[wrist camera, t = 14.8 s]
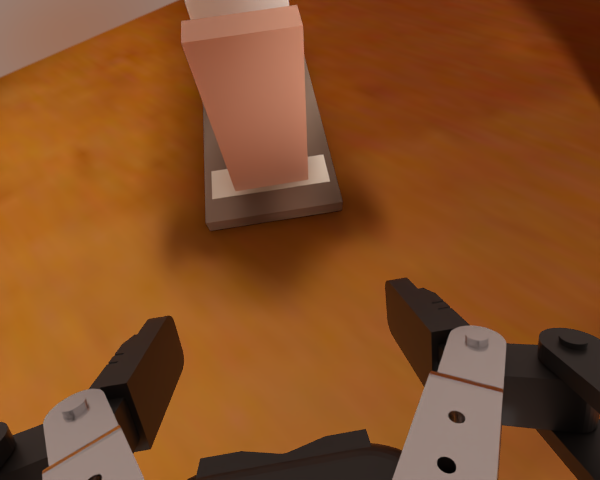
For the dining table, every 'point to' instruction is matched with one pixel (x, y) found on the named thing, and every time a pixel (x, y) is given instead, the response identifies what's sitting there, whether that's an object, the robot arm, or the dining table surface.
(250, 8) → the domino
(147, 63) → the dining table surface
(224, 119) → the domino
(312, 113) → the domino board
